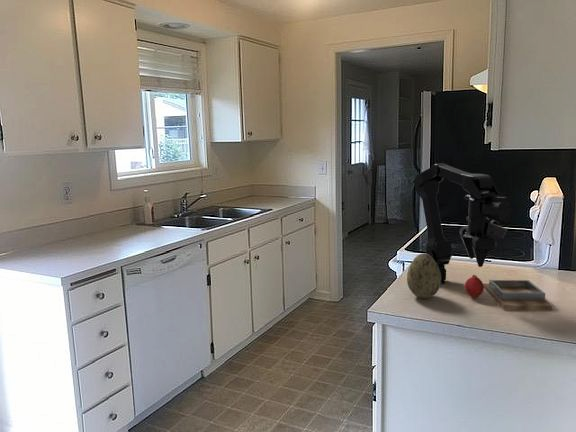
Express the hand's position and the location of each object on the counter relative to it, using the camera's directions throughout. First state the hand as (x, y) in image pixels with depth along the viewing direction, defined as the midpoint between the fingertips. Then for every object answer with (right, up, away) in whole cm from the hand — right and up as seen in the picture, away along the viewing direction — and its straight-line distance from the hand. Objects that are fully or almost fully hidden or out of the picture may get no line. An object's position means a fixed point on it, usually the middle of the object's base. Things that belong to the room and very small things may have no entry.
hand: (475, 262), depth 151 cm
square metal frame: (+13, -10, +1) cm, 16 cm away
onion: (0, -12, +2) cm, 12 cm away
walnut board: (+13, -12, +1) cm, 17 cm away
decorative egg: (-16, -12, +4) cm, 20 cm away
